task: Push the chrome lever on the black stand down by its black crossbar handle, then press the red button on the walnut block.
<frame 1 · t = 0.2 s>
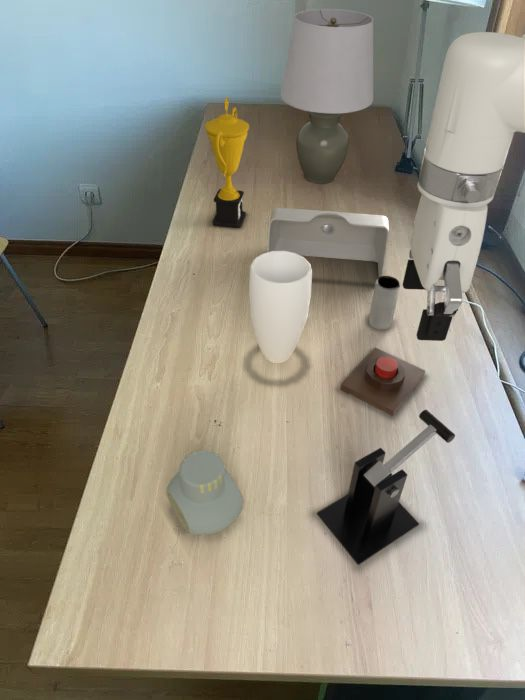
hand: (422, 312, 67), 29 cm above the table, tool pointing down, fingers open, 9 cm apart
grey cylinder: (379, 325, 112), on the table
black stand: (366, 522, 79), on the table
trophy: (229, 223, 140), on the table
lamp: (319, 177, 160), on the table
cup: (276, 367, 102), on the table
button: (386, 367, 96), point 5 cm above the table, slide at 0.2 cm
tank: (324, 264, 127), on the table
button block: (382, 386, 99), on the table
lever: (405, 452, 72), point 13 cm above the table, hinge at 25.0°
air freshener: (205, 509, 80), on the table
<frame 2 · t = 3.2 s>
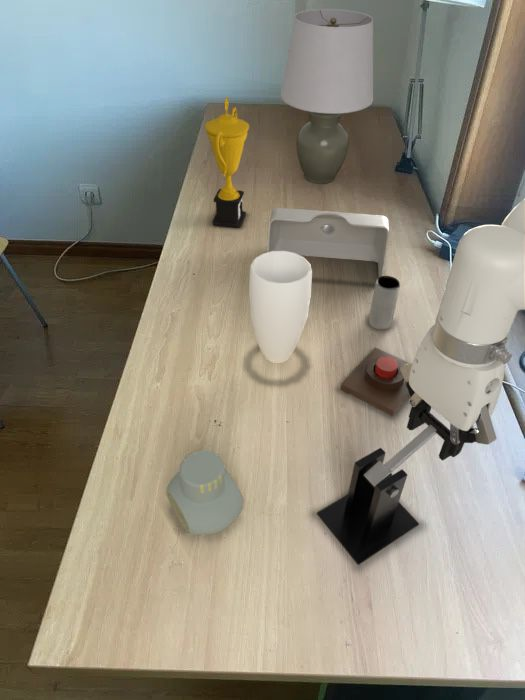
hand: (432, 438, 74), 13 cm above the table, tool pointing down, fingers closed on lever, 5 cm apart
lever: (405, 452, 72), point 13 cm above the table, hinge at 25.0°, touching gripper
everything else where it was.
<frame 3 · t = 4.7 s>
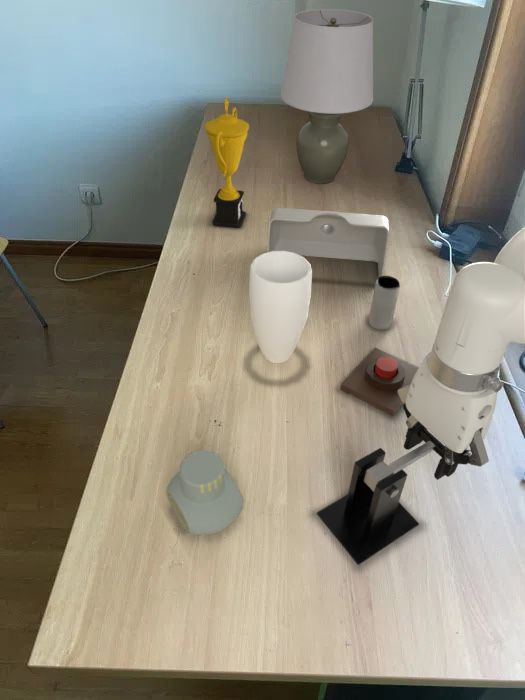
hand: (427, 458, 78), 8 cm above the table, tool pointing down, fingers closed on lever, 5 cm apart
lever: (405, 460, 74), point 11 cm above the table, hinge at -0.4°, touching gripper
everything else where it was.
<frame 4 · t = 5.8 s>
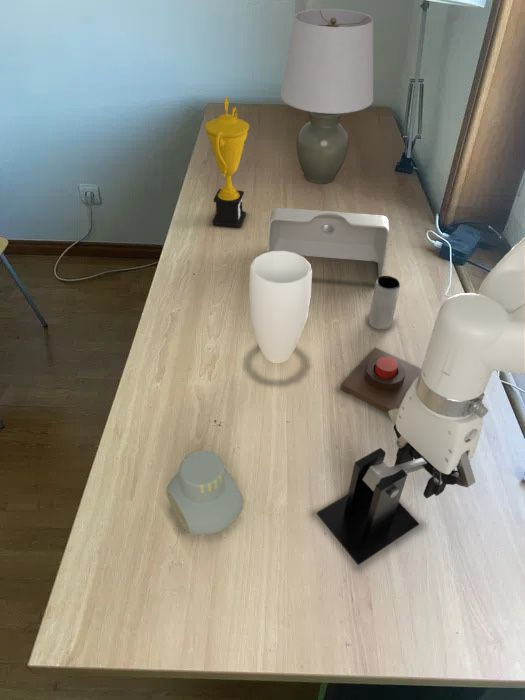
hand: (417, 476, 80), 4 cm above the table, tool pointing down, fingers closed on lever, 5 cm apart
lever: (401, 469, 75), point 9 cm above the table, hinge at -21.4°, touching gripper
everything else where it was.
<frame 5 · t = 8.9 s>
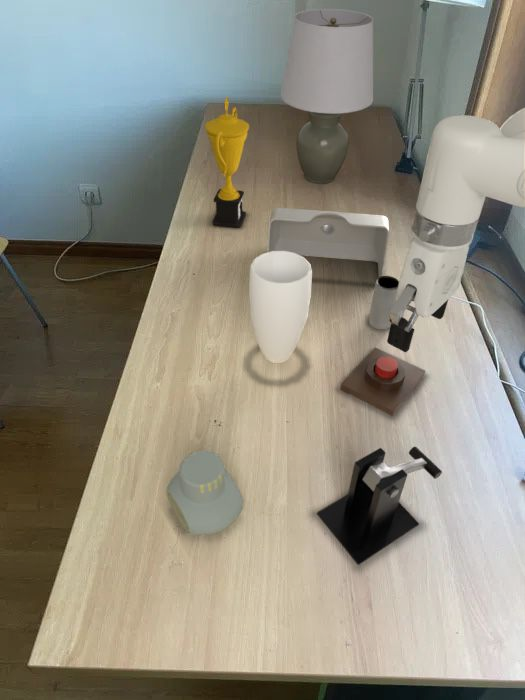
hand: (415, 330, 81), 19 cm above the table, tool pointing down, fingers open, 9 cm apart
lever: (401, 469, 75), point 9 cm above the table, hinge at -21.6°
everything else where it was.
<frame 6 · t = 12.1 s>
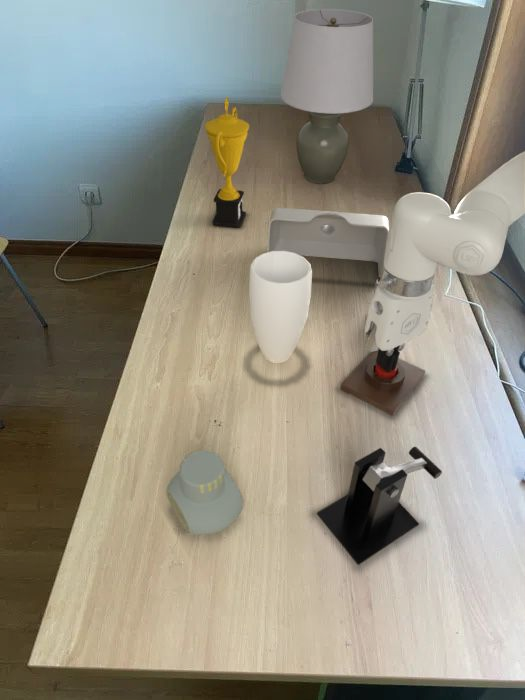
hand: (385, 365, 96), 5 cm above the table, tool pointing down, fingers closed
button: (385, 369, 96), point 4 cm above the table, slide at -0.4 cm, touching gripper
everything else where it was.
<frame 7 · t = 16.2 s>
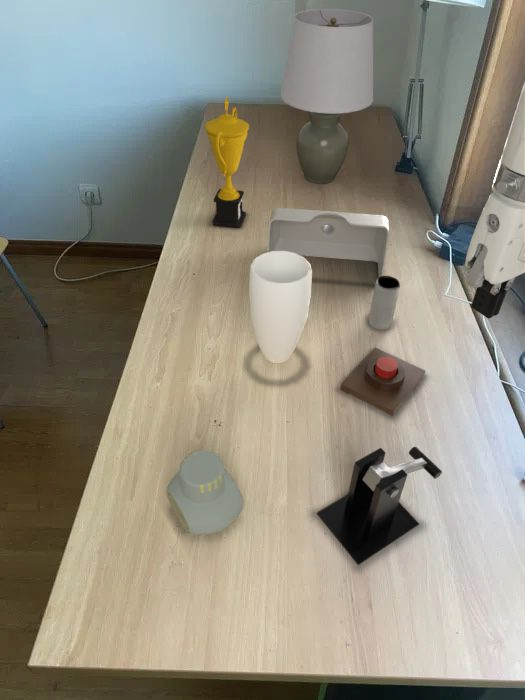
hand: (484, 310, 75), 25 cm above the table, tool pointing down, fingers closed
button: (386, 367, 96), point 5 cm above the table, slide at 0.1 cm
everything else where it was.
at the end: lever at -22° (first picture: +25°); button pushed in 1.1 cm at the most during the clip, back to where it started at the end; button slide at 0.1 cm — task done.
